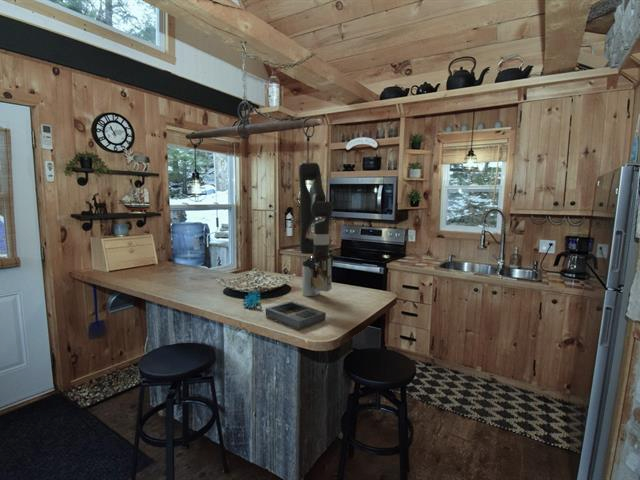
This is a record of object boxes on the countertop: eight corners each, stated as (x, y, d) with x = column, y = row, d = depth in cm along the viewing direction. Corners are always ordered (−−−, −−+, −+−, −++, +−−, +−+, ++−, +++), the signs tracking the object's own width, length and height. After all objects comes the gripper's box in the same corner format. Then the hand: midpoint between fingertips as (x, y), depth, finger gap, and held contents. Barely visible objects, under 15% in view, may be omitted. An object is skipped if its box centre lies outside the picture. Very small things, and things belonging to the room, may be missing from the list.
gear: (238, 303, 176) (250, 288, 180) (244, 309, 180) (256, 293, 184) (252, 311, 169) (264, 294, 173) (258, 316, 173) (269, 300, 177)
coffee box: (332, 288, 169) (332, 256, 167) (327, 292, 163) (328, 259, 161) (314, 286, 172) (315, 255, 170) (310, 290, 166) (310, 257, 164)
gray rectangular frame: (291, 308, 174) (291, 300, 173) (325, 321, 157) (325, 312, 156) (265, 316, 162) (265, 307, 162) (299, 330, 146) (299, 320, 145)
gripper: (325, 240, 172) (325, 272, 174) (305, 243, 162) (305, 277, 164) (337, 242, 167) (336, 274, 169) (316, 245, 157) (316, 280, 159)
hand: (321, 276), depth 167 cm, fingers closed on coffee box, 8 cm apart
